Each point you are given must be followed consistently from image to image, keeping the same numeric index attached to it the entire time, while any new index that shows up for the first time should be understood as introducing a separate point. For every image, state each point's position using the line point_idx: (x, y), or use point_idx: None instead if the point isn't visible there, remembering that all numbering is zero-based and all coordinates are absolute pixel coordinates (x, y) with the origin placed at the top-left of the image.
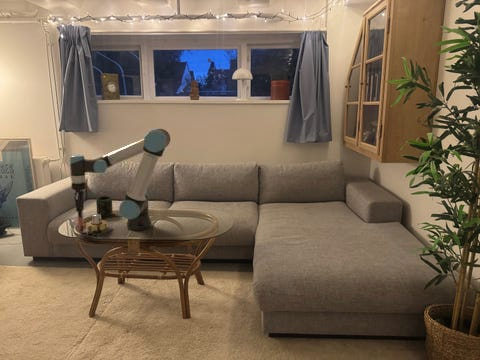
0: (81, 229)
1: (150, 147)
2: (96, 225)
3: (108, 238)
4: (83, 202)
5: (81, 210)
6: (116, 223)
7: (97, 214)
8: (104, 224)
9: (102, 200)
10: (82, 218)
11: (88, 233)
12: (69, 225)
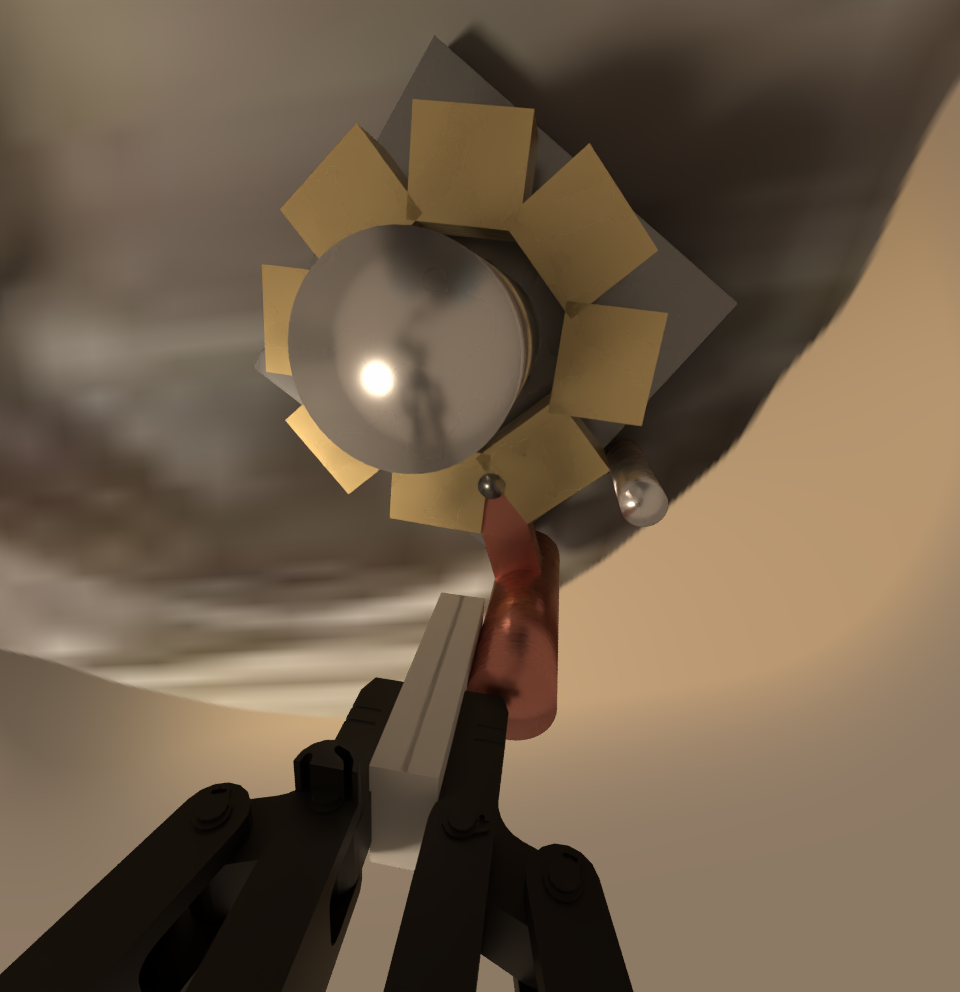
0: (557, 562)
1: None
2: (596, 335)
3: (930, 78)
4: (28, 970)
5: (494, 824)
6: (116, 39)
7: (329, 335)
8: (528, 169)
9: None
10: (476, 637)
11: (637, 450)
12: (226, 671)
